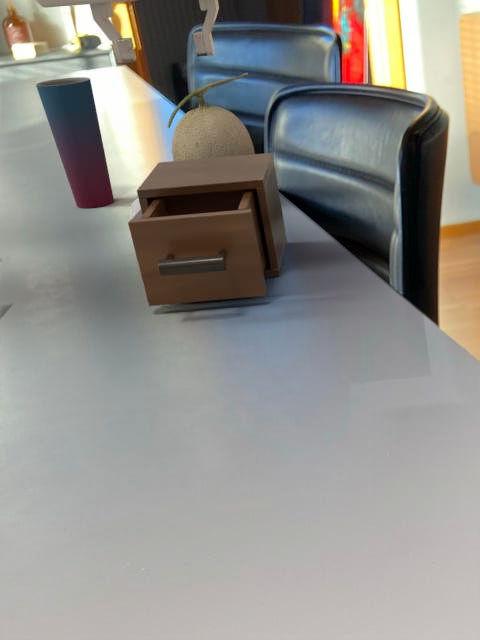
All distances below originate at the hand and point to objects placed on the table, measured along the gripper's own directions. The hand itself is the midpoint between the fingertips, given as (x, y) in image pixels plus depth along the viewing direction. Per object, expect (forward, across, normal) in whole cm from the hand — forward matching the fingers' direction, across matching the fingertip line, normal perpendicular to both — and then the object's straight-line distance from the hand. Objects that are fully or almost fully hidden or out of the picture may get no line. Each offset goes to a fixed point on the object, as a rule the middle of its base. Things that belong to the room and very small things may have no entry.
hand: (166, 58), depth 92 cm
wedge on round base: (+21, +8, -26) cm, 35 cm away
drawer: (+20, 0, +1) cm, 20 cm away
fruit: (+21, +4, -40) cm, 46 cm away
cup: (+21, +22, -46) cm, 56 cm away
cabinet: (+21, 0, -10) cm, 23 cm away
